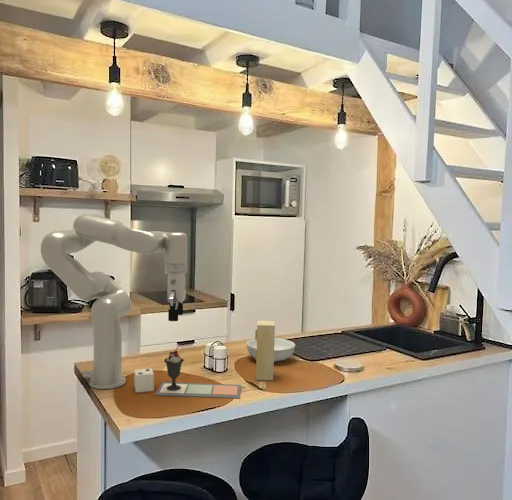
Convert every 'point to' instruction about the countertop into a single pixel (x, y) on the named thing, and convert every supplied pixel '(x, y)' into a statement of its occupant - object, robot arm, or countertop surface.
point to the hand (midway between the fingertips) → (175, 317)
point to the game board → (200, 390)
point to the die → (143, 380)
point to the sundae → (173, 368)
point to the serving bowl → (275, 348)
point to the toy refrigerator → (265, 350)
